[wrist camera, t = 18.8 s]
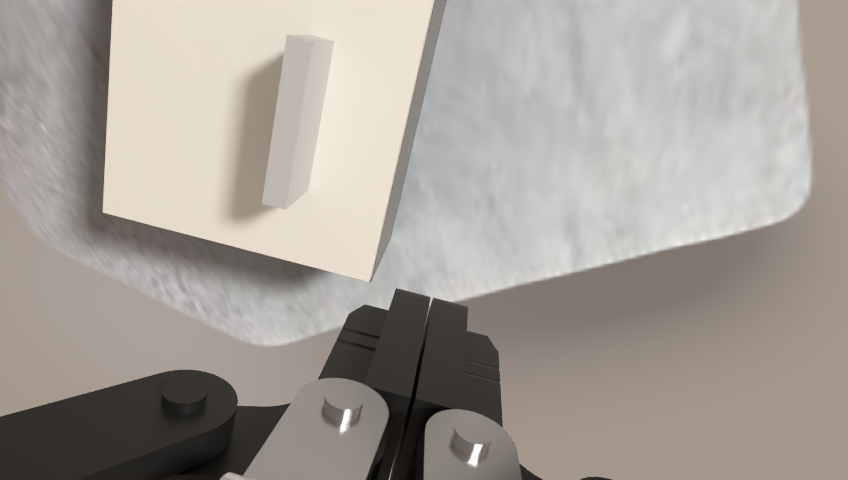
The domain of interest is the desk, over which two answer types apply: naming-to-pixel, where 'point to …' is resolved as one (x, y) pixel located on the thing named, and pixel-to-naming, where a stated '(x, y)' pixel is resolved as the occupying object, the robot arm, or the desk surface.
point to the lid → (262, 121)
